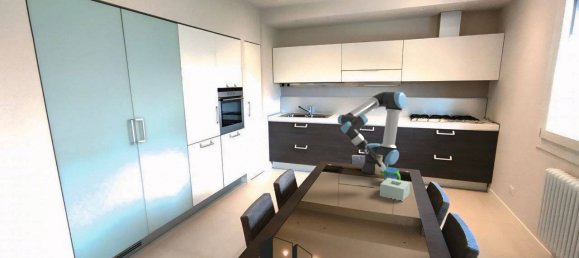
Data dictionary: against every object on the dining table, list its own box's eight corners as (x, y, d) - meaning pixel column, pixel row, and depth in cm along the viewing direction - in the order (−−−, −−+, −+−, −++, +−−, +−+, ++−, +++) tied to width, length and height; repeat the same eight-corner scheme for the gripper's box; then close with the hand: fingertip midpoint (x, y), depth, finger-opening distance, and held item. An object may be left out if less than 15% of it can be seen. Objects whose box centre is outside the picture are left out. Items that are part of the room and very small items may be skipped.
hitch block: (387, 188, 175) (387, 177, 173) (409, 194, 166) (410, 182, 165) (379, 195, 164) (380, 183, 163) (402, 201, 155) (403, 189, 154)
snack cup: (404, 185, 180) (405, 171, 178) (392, 188, 176) (393, 173, 174) (387, 178, 194) (388, 165, 193) (376, 180, 190) (377, 167, 189)
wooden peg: (376, 171, 172) (377, 154, 170) (382, 173, 169) (383, 155, 167) (373, 173, 169) (374, 155, 167) (379, 174, 166) (381, 156, 164)
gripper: (356, 142, 179) (380, 168, 176) (353, 148, 163) (379, 176, 161) (365, 135, 176) (389, 162, 173) (363, 140, 161) (389, 169, 158)
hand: (384, 169), depth 167 cm, fingers closed on wooden peg, 4 cm apart
